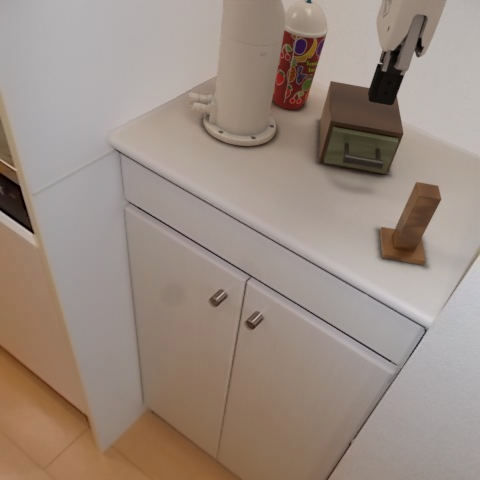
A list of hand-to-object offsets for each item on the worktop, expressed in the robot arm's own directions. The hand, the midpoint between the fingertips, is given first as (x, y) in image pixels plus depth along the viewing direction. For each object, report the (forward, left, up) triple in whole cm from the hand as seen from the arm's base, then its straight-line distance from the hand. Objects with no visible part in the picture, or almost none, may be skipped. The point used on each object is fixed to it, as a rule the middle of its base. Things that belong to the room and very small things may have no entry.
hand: (380, 100), depth 66 cm
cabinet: (+2, +19, -18) cm, 26 cm away
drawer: (+2, +15, -17) cm, 23 cm away
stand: (+9, -6, -18) cm, 21 cm away
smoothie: (-10, +31, -18) cm, 37 cm away
